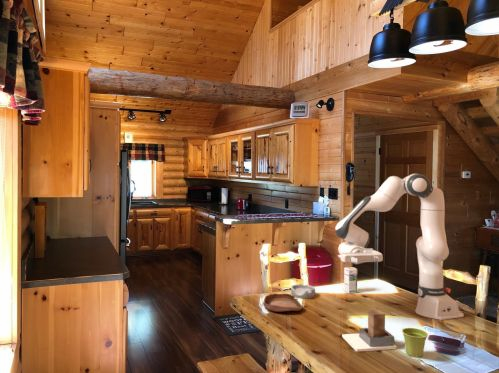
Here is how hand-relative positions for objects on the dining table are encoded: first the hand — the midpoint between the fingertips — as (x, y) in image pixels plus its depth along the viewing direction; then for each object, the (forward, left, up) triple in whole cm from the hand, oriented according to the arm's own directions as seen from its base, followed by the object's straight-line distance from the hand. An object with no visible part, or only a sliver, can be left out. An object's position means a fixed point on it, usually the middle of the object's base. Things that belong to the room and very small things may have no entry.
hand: (368, 260), depth 190 cm
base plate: (+9, +20, -30) cm, 37 cm away
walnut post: (+6, +21, -29) cm, 36 cm away
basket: (+34, -28, -30) cm, 53 cm away
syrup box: (-13, -51, -30) cm, 61 cm away
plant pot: (-4, +33, -30) cm, 45 cm away
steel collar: (+6, +21, -30) cm, 37 cm away
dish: (+17, -49, -30) cm, 60 cm away
